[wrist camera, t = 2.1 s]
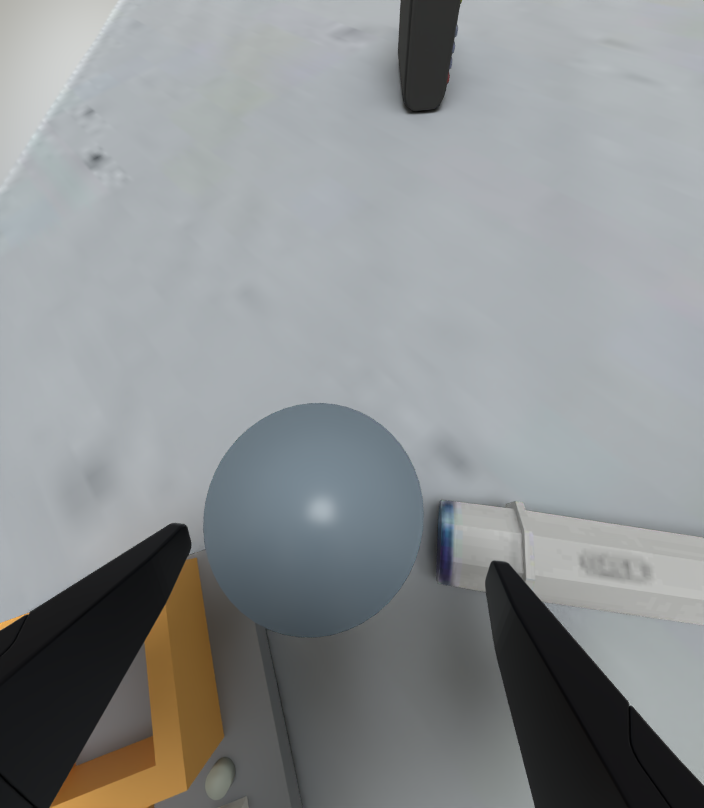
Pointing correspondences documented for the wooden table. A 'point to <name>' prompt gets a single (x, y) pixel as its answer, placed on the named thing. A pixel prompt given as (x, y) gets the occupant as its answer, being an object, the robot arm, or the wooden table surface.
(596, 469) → the wooden table surface
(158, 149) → the wooden table surface
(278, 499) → the plug
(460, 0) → the black upright block
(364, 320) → the wooden table surface
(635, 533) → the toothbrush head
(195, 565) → the panel
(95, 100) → the wooden table surface
